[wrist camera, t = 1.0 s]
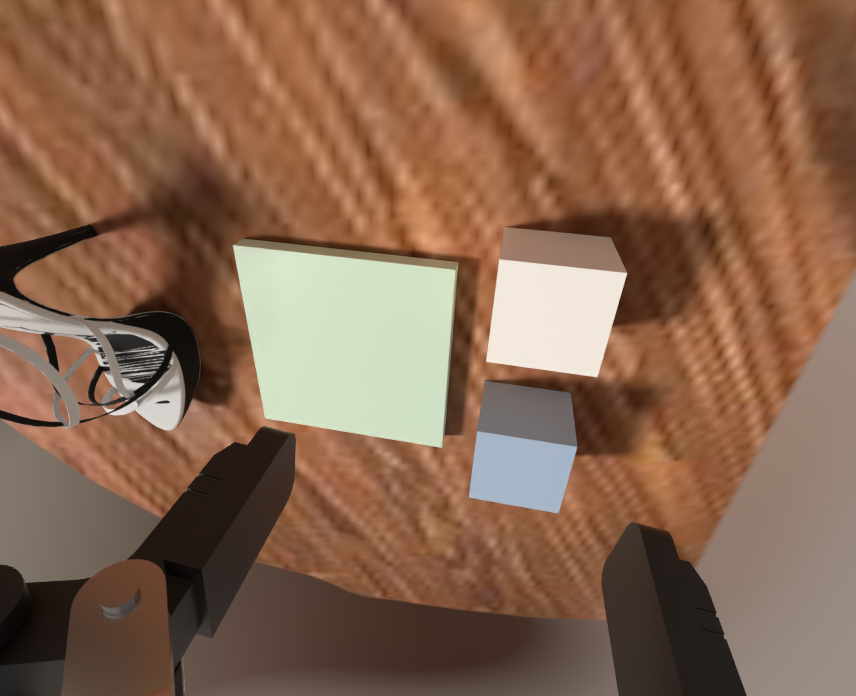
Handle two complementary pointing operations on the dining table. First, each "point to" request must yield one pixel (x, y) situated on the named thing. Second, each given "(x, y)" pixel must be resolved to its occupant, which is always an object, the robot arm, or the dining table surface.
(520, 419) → the brick top
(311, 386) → the base plate
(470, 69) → the dining table surface
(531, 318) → the white cube
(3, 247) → the sandal
